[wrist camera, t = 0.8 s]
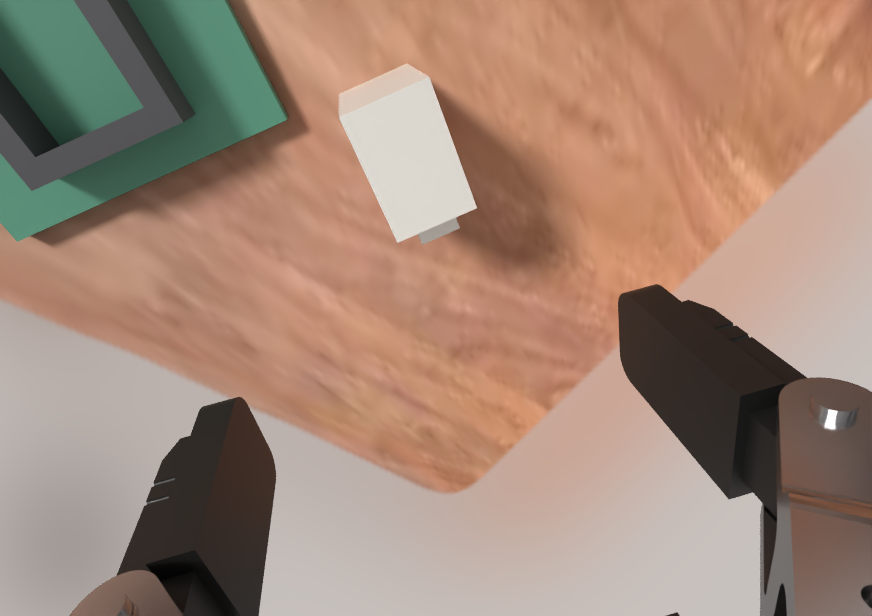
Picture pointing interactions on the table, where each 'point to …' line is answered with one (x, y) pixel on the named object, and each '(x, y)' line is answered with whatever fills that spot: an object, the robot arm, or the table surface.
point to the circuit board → (117, 99)
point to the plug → (407, 153)
